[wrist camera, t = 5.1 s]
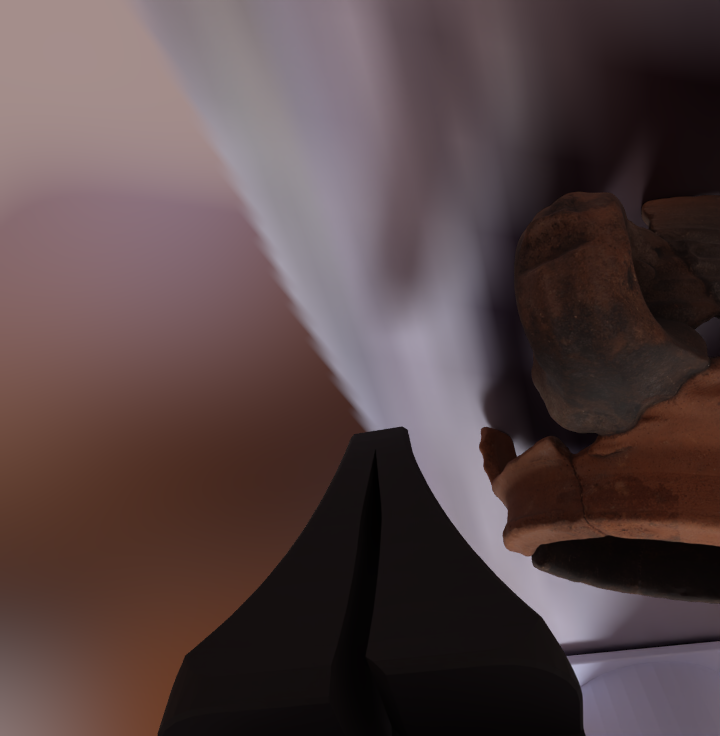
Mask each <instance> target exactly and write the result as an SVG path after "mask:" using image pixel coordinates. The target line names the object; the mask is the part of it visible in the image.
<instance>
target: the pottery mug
mask: <svg viewBox="0 0 720 736" xmlns="http://www.w3.org/2000/svg"><path fill="white" fill-rule="evenodd" d="M641 214H642V219H643V221H644V222H645V223H646V224H647V225H648V226H649V229H646V228H641V227H638V226H636V225H635V224H633V223H632V222H631V221H629V220H628V219H627V216H626V213H625V210H624V207H623V206H622V204H621V202H620V201H619V199H618V198H617V197H616V196H615V195H613V194H611V193H586V192H573V193H567V194H565V195H564V196H562V197H560V198H558V199H557V200H556V201H555V202H554V203H553V204H552V205H551V206H549V207H546V208H544V209H542V210H541V211H540V212H539V213H538V214H537V215H536V216H535V217H534V219H533V220H532V222H531V223H530V224H529V225H528V227H527V229H526V230H525V231H524V232H523V234H522V235H521V237H520V239H519V241H518V245H517V248H516V253H515V262H514V288H515V296H516V302H517V308H518V313H519V316H520V320H521V323H522V326H523V328H524V332H525V335H526V336H527V338H528V340H529V343H530V345H531V348H532V350H533V367H532V371H531V374H532V380H533V383H534V385H535V387H536V388H537V390H538V391H539V393H540V395H541V397H542V399H543V401H544V402H545V405H546V407H547V410H548V412H549V414H550V416H551V417H552V418H553V419H554V420H555V421H556V422H557V423H558V424H559V425H560V426H562V427H563V428H565V429H567V430H570V431H574V432H578V433H597V434H598V437H597V439H596V440H595V442H594V443H593V444H591V445H590V446H588V447H586V448H585V449H583V450H581V451H580V452H579V453H577V454H572V453H571V452H570V451H569V449H568V448H567V447H566V446H565V445H564V443H563V442H562V441H561V440H560V439H559V438H557V437H555V436H548V437H545V438H543V439H541V440H539V441H538V442H536V443H535V444H534V446H532V447H531V448H529V449H528V450H527V451H525V452H524V453H523V454H521V455H519V456H518V457H517V455H516V452H515V448H514V444H513V441H512V439H511V438H510V437H509V436H508V435H507V434H505V433H502V432H501V431H499V430H496V429H493V428H489V427H483V428H482V429H481V442H480V444H479V449H480V451H481V453H482V455H483V459H484V464H483V467H484V470H485V472H486V473H487V475H488V477H489V480H490V482H491V485H492V490H493V492H494V494H495V495H496V496H497V497H498V498H499V499H500V500H501V501H502V502H503V504H504V505H505V506H506V508H507V509H508V518H507V524H506V526H505V529H504V531H503V542H504V545H505V547H506V548H507V549H508V550H510V551H513V552H517V553H521V554H523V555H525V556H531V555H532V563H533V566H534V567H535V568H537V569H539V570H541V571H544V572H547V573H549V574H552V575H555V576H557V577H561V578H564V579H567V580H570V581H573V582H581V583H584V584H588V585H591V586H594V587H597V588H602V589H606V590H613V591H618V592H622V593H630V594H639V595H645V596H651V597H657V598H667V599H672V600H682V601H689V602H706V603H719V604H720V357H714V358H709V357H708V355H707V345H706V343H705V341H704V340H703V338H702V337H701V336H700V335H699V334H698V333H697V332H696V331H695V330H694V329H696V328H697V327H699V326H700V325H701V324H702V323H704V322H707V321H709V320H710V319H711V318H712V317H717V318H719V319H720V196H718V195H702V196H696V197H690V196H684V197H672V198H664V199H657V200H652V201H647V202H646V203H644V205H643V206H642V213H641Z"/></svg>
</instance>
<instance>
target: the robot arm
mask: <svg viewBox="0 0 720 736" xmlns="http://www.w3.org/2000/svg"><path fill="white" fill-rule="evenodd" d="M158 736H720V641H715V642H705V643H694V644H684V645H674V646H664V647H653V648H643V649H633V650H623V651H613V652H602V653H592V654H582V655H572V656H566V655H565V653H564V651H563V650H562V648H561V646H560V645H559V643H558V641H557V640H556V638H555V637H554V635H553V634H552V632H551V631H550V629H549V628H548V626H547V624H546V623H545V621H544V620H543V618H542V617H541V616H540V615H539V614H537V613H536V612H535V611H534V610H533V609H532V608H530V607H529V606H528V605H527V604H526V603H525V602H524V601H523V600H521V599H520V598H519V597H518V596H517V595H516V594H515V593H514V592H513V591H512V590H511V589H510V588H509V587H508V586H507V585H506V584H505V583H504V582H503V581H502V580H501V579H500V578H498V577H497V576H496V574H495V573H494V572H493V571H492V570H491V569H490V568H489V567H488V566H487V565H486V563H485V562H484V561H483V560H482V559H481V558H480V557H479V556H478V555H477V554H476V552H475V551H474V550H473V549H472V548H471V547H470V545H469V544H468V543H467V542H466V540H465V539H464V538H463V537H462V535H461V534H460V533H459V532H458V530H457V529H456V527H455V526H454V525H453V523H452V522H451V521H450V519H449V518H448V516H447V515H446V513H445V512H444V510H443V509H442V507H441V506H440V504H439V503H438V501H437V499H436V498H435V496H434V495H433V493H432V491H431V489H430V488H429V486H428V484H427V482H426V480H425V478H424V476H423V474H422V473H421V471H420V469H419V467H418V464H417V462H416V460H415V457H414V455H413V452H412V447H411V443H410V438H409V434H408V430H407V429H406V428H404V427H396V428H390V429H384V430H377V431H371V432H365V433H359V434H354V435H353V436H352V438H351V440H350V442H349V445H348V447H347V449H346V452H345V454H344V456H343V459H342V461H341V463H340V465H339V467H338V470H337V472H336V474H335V476H334V478H333V479H332V482H331V483H330V486H329V487H328V489H327V491H326V493H325V495H324V497H323V499H322V500H321V502H320V504H319V505H318V507H317V509H316V510H315V512H314V514H313V515H312V517H311V519H310V520H309V522H308V524H307V525H306V527H305V528H304V530H303V531H302V533H301V534H300V536H299V537H298V539H297V540H296V542H295V543H294V545H293V546H292V547H291V548H290V550H289V551H288V553H287V554H286V555H285V556H284V558H283V559H282V560H281V562H280V563H279V564H278V565H277V566H276V568H275V569H274V570H273V571H272V572H271V574H270V575H269V576H268V577H267V579H266V580H265V581H264V582H263V583H262V584H261V586H260V587H259V588H258V589H257V590H256V591H255V592H254V593H253V594H252V595H251V596H250V597H249V598H248V599H247V600H246V601H245V602H244V603H243V604H242V605H241V606H240V607H239V608H238V610H236V611H235V612H234V613H233V615H232V616H230V617H229V618H228V619H227V620H226V621H225V622H224V623H223V624H222V625H220V626H219V627H218V628H217V629H216V630H215V631H214V632H212V633H211V634H210V635H209V636H208V637H207V638H205V639H204V640H203V641H202V642H201V643H200V644H199V645H198V646H196V647H195V648H194V649H193V650H191V651H190V652H189V653H188V654H187V655H186V656H185V658H184V660H183V663H182V665H181V667H180V670H179V672H178V674H177V677H176V679H175V682H174V685H173V687H172V690H171V693H170V696H169V699H168V703H167V706H166V709H165V712H164V715H163V719H162V722H161V725H160V728H159V731H158Z"/></svg>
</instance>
